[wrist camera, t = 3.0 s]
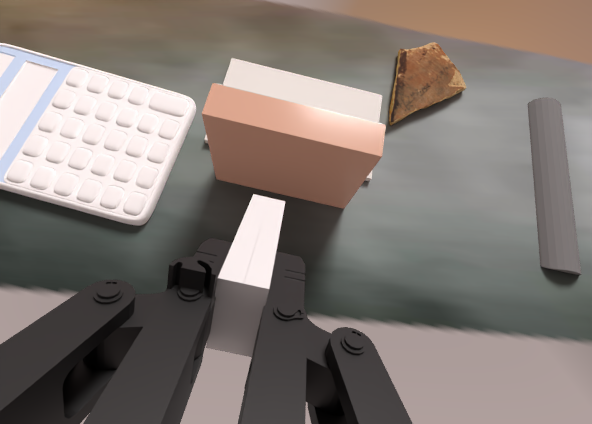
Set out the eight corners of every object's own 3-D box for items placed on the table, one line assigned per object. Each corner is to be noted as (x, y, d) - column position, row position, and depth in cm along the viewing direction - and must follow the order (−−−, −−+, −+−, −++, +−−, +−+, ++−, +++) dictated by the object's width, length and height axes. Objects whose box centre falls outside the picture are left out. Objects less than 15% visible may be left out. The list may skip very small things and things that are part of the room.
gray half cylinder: (557, 112, 40) (570, 102, 38) (576, 279, 33) (593, 276, 32) (522, 103, 40) (534, 93, 38) (534, 270, 33) (549, 267, 31)
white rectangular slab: (380, 98, 37) (382, 95, 36) (369, 181, 33) (371, 178, 33) (232, 62, 36) (232, 58, 36) (205, 142, 33) (204, 139, 32)
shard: (385, 130, 36) (391, 120, 34) (347, 75, 38) (352, 63, 36) (463, 96, 39) (472, 85, 37) (424, 46, 41) (431, 34, 39)
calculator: (147, 231, 30) (141, 224, 28) (-84, 167, 29) (-106, 156, 27) (201, 107, 34) (198, 95, 33) (2, 50, 34) (-12, 34, 32)
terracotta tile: (347, 183, 33) (386, 122, 24) (343, 208, 32) (381, 156, 23) (224, 154, 33) (213, 80, 23) (216, 179, 32) (201, 113, 22)
